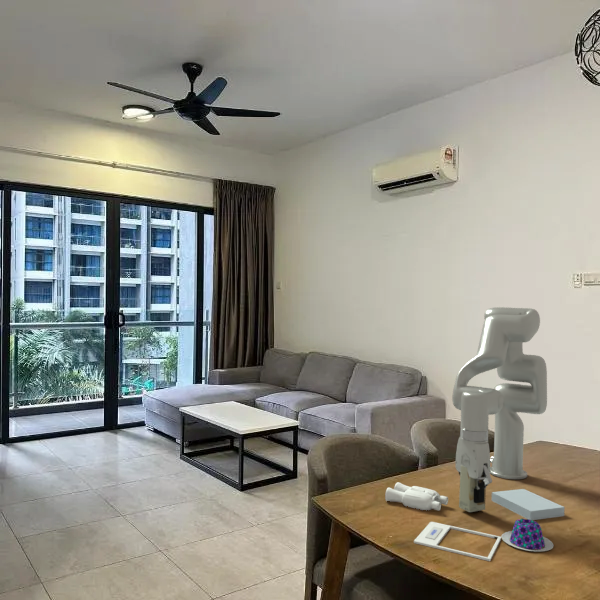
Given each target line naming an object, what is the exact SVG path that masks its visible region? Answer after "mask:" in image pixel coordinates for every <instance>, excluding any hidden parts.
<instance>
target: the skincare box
mask: <svg viewBox="0 0 600 600" xmlns="http://www.w3.org/2000/svg"><path fill="white" fill-rule="evenodd" d="M480 482H481V480H479V483H480ZM475 488H476V487H475V480H474V479H473V478H471V477H469V474H468V470H467V468H466V467H464V466H462V465H461V470H460V475H459V497H458V499H459V502H458V508H460V509H461V510H464V511H466V512H468V513H473V512H478V511H479V512H480V511H485V510H486V497H487V495H486V493H487V491H486V490H487V488H486V489H484V502H482V503H474V489H475Z"/></svg>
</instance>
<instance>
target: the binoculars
mask: <svg viewBox="0 0 600 600" xmlns="http://www.w3.org/2000/svg"><path fill="white" fill-rule="evenodd" d="M384 497H385V501H386V502H387V501H390V502H394V503H400V504H401V503H402V504H403V506H405V507H407V506H408V508H412V509H415V508H416V510H419V509H420V510H421V511H423V510H426V511H427V510H428V511H431V510H434V511H441V507H442V505H444V506H445V505H446V506H447V505H448V503H449V497H448V496H445V495H440V493H439V492H438V491H436V490H434V489H430V488H427V487H421V486H417V485H413V486H408V485H406V484H403V483H401V482H396V483H395V485H394V488H392V487H387V488H386V490H385V495H384Z"/></svg>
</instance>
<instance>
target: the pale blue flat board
mask: <svg viewBox="0 0 600 600" xmlns="http://www.w3.org/2000/svg"><path fill="white" fill-rule="evenodd" d="M491 501H492V502H493V503H495V504H497V505H500V506H501V507H503V508H505V509H506V510H509V511H512V512H513V513H514V514H517V515H519V516H521V517H523V518H524V519H529V520H532V521H535V520H536V521H537V520H544V519H551V518H559V517H565V506H563V505H561V504H558V503H556V502H555V501H552V500H550V499H547V498H545V497H544V496H541V495H538V494H536V493H534V492H531V491H529V490H527V489H525V488H519V489H510V490H509V489H508V490H500V491H491Z"/></svg>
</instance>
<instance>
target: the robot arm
mask: <svg viewBox="0 0 600 600" xmlns="http://www.w3.org/2000/svg"><path fill="white" fill-rule="evenodd" d="M483 316H484V321H483V323H482V324H483V325H482V329H481V334H480V338H479V343H478V348H477V353H476V355H475V356H473V357H472V358H470V359H469V360H468V361H467V362H466V363H464V365H463V366H462V367H461V368H460V370H459V371H458V373H457V375H456V377H455V380H454V381H455V382H454V385H453V391H452V396H451V400H452V404H453V407H455V409H457V410H458V411H460V434H459V437H458V440H457V444H456V453H455V469H456V471H457V472H458V475H459V476H460V470H461V465H462V466H464V467H466V468H467V470H468V474H469V477H471V478H473V479H474V480H475V487H476V488H475V489H474V503H482V502H484V489H486V490H487V487H488V486H489V485H490V484H492V482H493V480H492V477H491V476H495V477H498V478H502V479H507V480H508V479H509V480H523V479H526V478H527V477H528V472H527V471H526V470H524V469H523V467H524V465H523V464H524V435H525V434H524V432H525V430H524V429H525V426H524V423H523V420H522V418H521V417H520V415H518V413H522V414H530V415H542V414H544V413H545V412H546V410H547V406H548V370H547V363H546V361H545V359H544V358H543V357H542V356H540V355H537V354H536V355H535V354H525V353H524V351H523V343H528V342H530V341H531V340H532V339H533V338H534V336H535V335H536V334H537V332H538V331H539V328H540V325H541V317H540V313H539V311H537V310H536V309H534V308H530V307H529V308H528V307H527V308H526V307H525V308H523V307H504V306H503V307H500V306H499V307H491V308H487V309H486V310H485V312H484V315H483ZM495 369H496V372H497V376H498V378H499V379H501V380H504V381H509V382H517V383H509V382H505V383H504V382H503V383H498V384H497V385H496V386H495V387H494V388H492V387H482V386H476V385H475V386H474V385H468V384H469V382H470V381H471V380H472V379H473V378H474V377H475V376H477V375H480V374H483V373H485V372H489V371H492V370H495ZM518 382H519V383H518ZM520 383H526V384H520ZM527 383H528V385H527ZM490 415H491V416H492V415H494V437H493V438H494V440H493V442H494V443H493V455H492V456H491V455H490V453H491V452H490V444H489V419H490V418H489V416H490ZM479 480H481V482H480V483H479Z"/></svg>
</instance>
